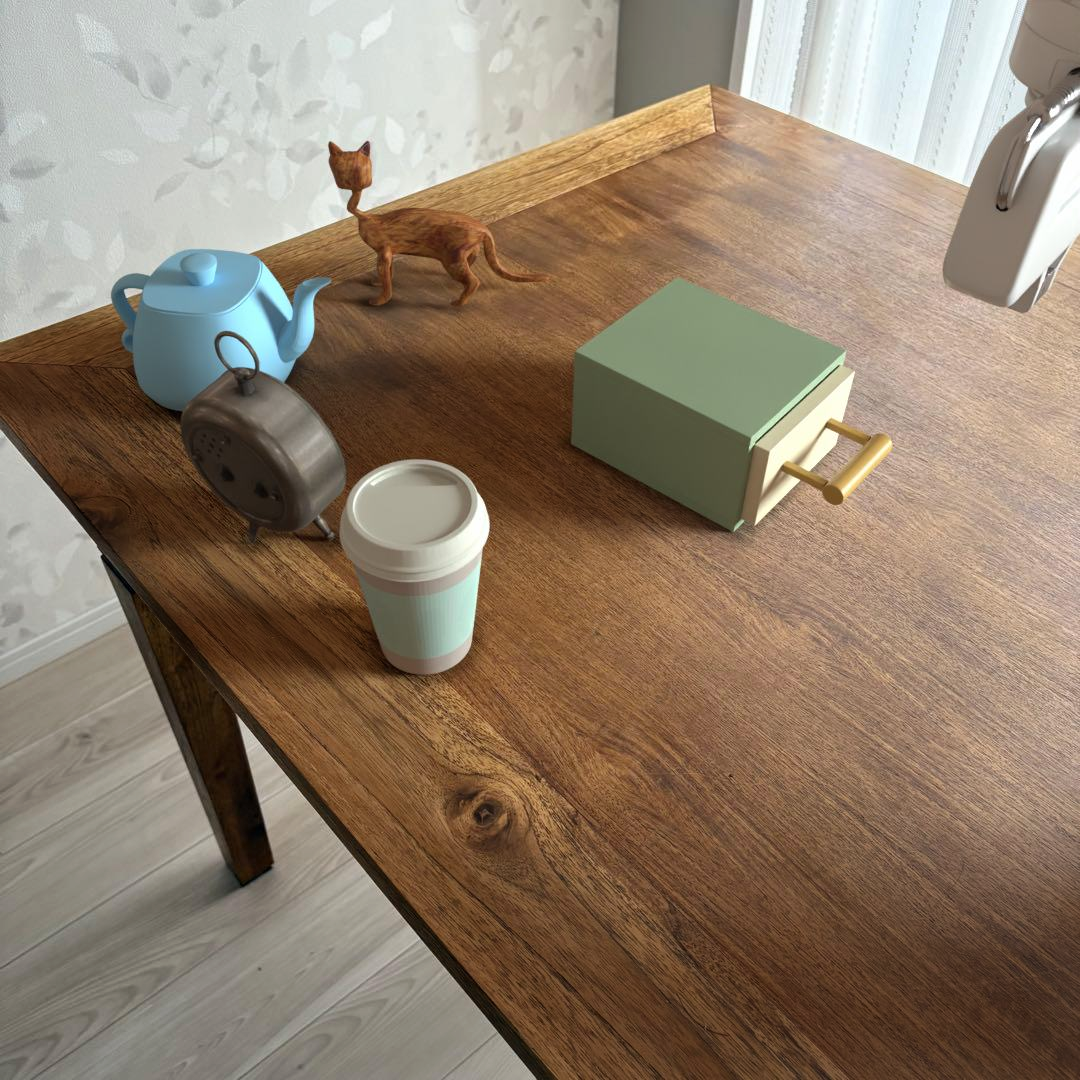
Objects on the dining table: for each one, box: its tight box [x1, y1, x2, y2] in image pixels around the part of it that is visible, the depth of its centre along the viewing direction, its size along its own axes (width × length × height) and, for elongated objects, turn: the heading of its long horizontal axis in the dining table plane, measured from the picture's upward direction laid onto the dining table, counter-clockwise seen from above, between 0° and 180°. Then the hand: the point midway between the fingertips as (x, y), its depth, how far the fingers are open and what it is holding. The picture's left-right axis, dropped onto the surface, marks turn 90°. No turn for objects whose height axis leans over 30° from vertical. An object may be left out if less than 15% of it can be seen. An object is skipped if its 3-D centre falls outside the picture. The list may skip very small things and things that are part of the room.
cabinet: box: [570, 276, 848, 533], centre depth 81 cm, size 15×13×9 cm
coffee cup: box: [339, 458, 491, 676], centre depth 66 cm, size 8×8×12 cm
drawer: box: [740, 365, 894, 527], centre depth 79 cm, size 18×11×7 cm, turn 50°
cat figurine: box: [327, 140, 551, 307], centre depth 94 cm, size 18×7×14 cm, turn 93°
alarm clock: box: [180, 331, 347, 544], centre depth 72 cm, size 11×5×16 cm, turn 58°
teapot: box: [110, 248, 332, 412], centre depth 86 cm, size 13×11×18 cm
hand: (1022, 298), depth 61 cm, fingers closed
